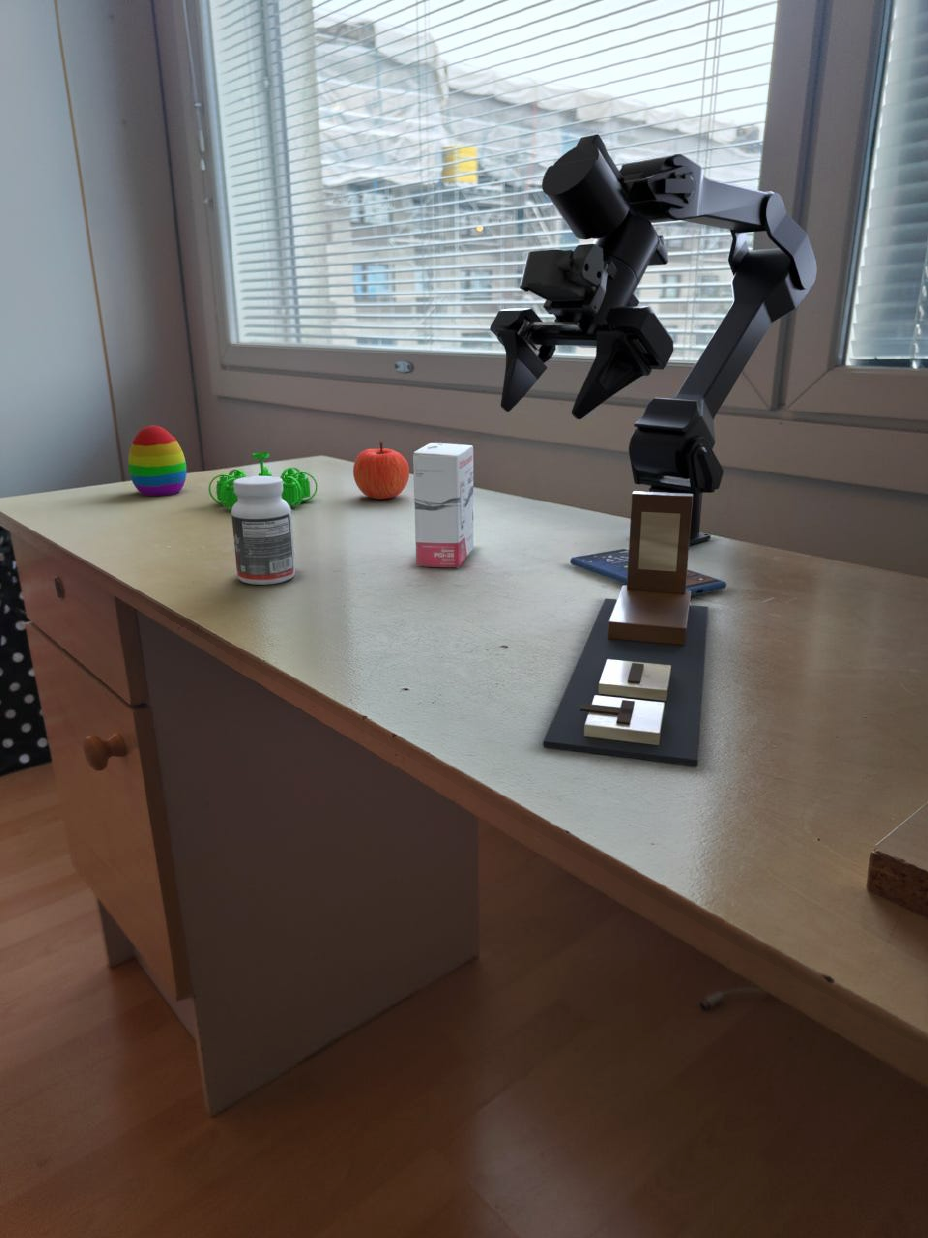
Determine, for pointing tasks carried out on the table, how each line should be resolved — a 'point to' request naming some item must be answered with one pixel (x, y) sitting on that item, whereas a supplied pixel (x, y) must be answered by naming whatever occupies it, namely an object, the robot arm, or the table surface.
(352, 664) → the table surface
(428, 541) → the ink box
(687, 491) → the robot arm
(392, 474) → the apple
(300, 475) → the chandelier
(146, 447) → the decorative egg
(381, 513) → the table surface
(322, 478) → the table surface
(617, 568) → the smartphone
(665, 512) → the brown picture frame
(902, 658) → the table surface
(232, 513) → the pill bottle
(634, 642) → the word mat
